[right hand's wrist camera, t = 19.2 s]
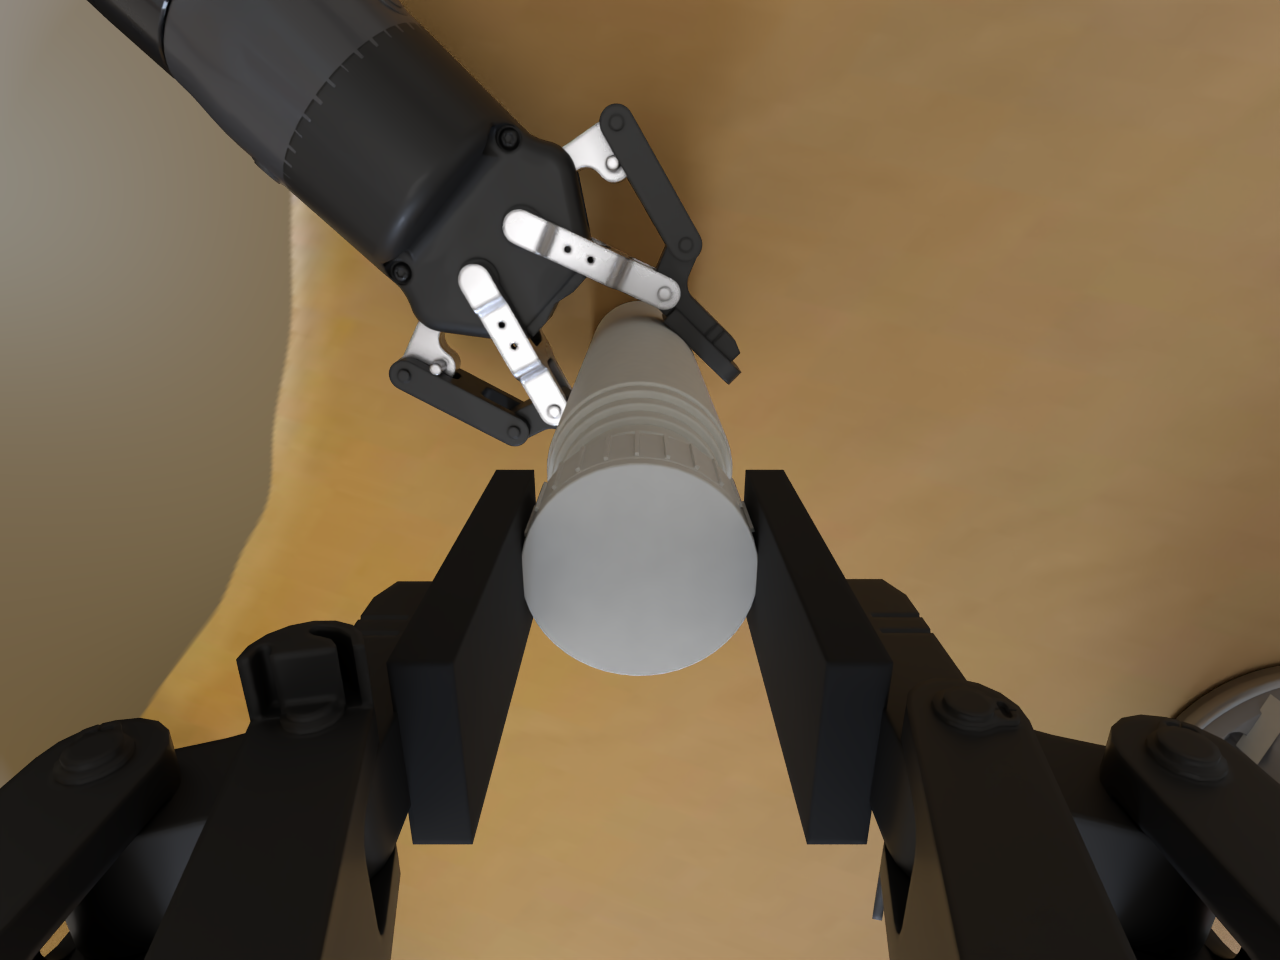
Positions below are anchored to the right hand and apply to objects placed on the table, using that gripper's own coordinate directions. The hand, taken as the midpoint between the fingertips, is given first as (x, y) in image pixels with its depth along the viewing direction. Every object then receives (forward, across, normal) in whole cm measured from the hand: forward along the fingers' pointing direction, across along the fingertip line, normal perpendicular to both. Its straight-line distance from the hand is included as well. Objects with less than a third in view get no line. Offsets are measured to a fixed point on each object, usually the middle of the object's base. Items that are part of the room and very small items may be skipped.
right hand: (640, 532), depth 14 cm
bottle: (+22, 0, 0) cm, 22 cm away
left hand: (+15, -2, +2) cm, 16 cm away
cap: (-2, 0, 0) cm, 2 cm away
